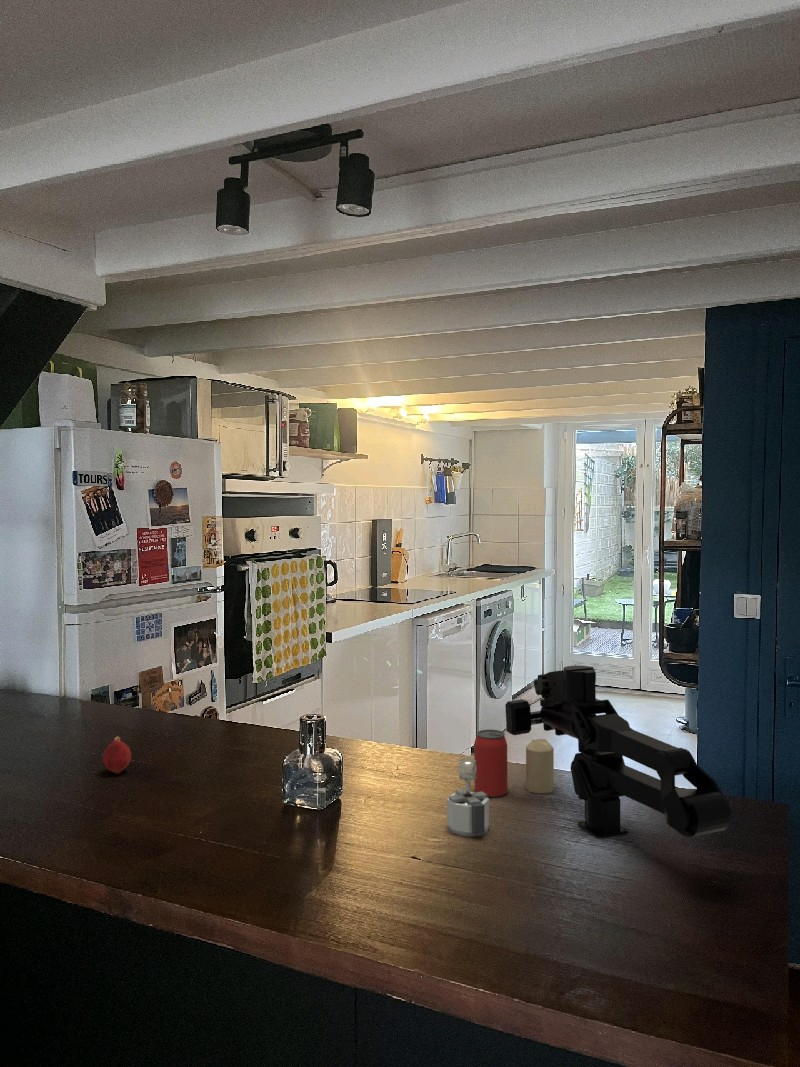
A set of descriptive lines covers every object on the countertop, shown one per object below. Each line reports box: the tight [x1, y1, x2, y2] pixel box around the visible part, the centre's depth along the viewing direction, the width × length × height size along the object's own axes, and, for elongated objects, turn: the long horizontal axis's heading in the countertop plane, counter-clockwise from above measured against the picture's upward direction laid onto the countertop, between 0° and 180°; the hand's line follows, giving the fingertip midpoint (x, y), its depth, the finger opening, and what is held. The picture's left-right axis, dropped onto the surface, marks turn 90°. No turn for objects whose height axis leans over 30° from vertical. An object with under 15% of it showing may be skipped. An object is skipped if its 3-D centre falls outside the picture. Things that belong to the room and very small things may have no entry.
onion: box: [102, 736, 132, 775], centre depth 178 cm, size 6×6×8 cm
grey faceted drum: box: [446, 788, 490, 838], centre depth 146 cm, size 8×7×6 cm
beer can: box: [473, 729, 508, 798], centre depth 164 cm, size 7×7×12 cm
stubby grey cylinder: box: [457, 758, 481, 805], centre depth 146 cm, size 5×5×8 cm
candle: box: [525, 738, 555, 795], centre depth 166 cm, size 6×6×10 cm
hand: (528, 704), depth 168 cm, fingers open, 9 cm apart
